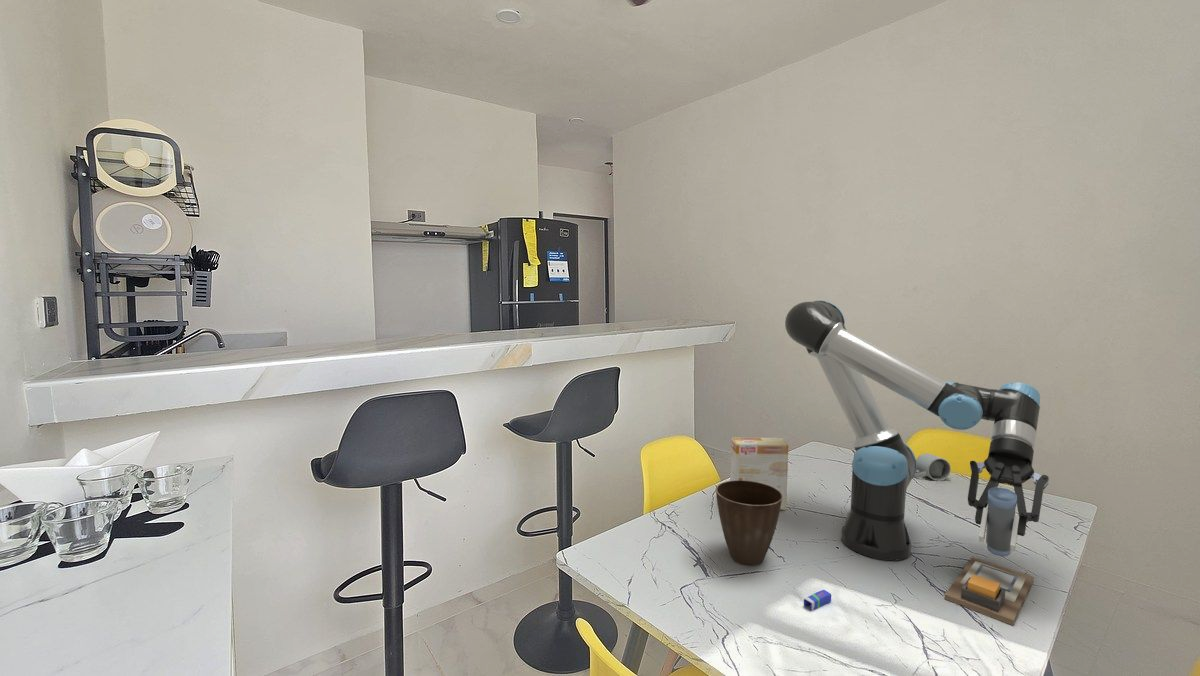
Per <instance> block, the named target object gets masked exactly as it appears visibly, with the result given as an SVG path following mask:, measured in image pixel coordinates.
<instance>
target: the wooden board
mask: <svg viewBox="0 0 1200 676" xmlns="http://www.w3.org/2000/svg"><path fill="white" fill-rule="evenodd" d="M973 574H975V575H978V576H981V577H983V578H986V579H989V580H992V581H995V582H998V583H1000V590H999V594H998V596H997V598H996V600H995V599H992V598H989V597H987V596H984V595H981V594H978V593H976V592H973V591H970V590H968V589H967V587H968V581H969V580H970V578H971V577H972V575H973ZM1034 579H1035V577H1034V576H1033V575H1029V574H1027V573H1023V572H1021V571H1018V570H1015V569H1011V568H1010V567H1009V568H1008V567H1005V566H1002V565H999V564H996V563H992V562H990V561H987V560H984V559H981V558H977V557H974V556H971V558H970V559H969V560H968V562H967V564H966V565H965V566H964V567H963V568H962V570H961V571H960V573H959V574H958V576H957V577H956V579H955V580H954V581H953V583H951V585H950V587H949V588H948V589H947V591H946V592H945V594H944V599H945V600H946V601H949V602H952V603H954V604H955V605H959V606H961V605H962V607H965V608H967V609H970V610H972V611H975V612H978V614H979V613H980V614H982V615H985V616H987V617H990V618H993V619H995V620H997V621H1000V622H1003V623H1005V624H1009V625H1010V626H1014V624H1015V623H1016V620H1017V618H1018V616H1019V614H1020V612H1021V610H1020V609H1022V607H1023V604H1024V602H1025V601H1026V598H1027V596H1028V594H1029V591H1030V589H1031V587H1032V585H1033V583H1034Z"/></svg>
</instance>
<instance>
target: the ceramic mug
mask: <svg viewBox="0 0 1200 676" xmlns="http://www.w3.org/2000/svg"><path fill="white" fill-rule="evenodd" d="M916 464H917V468H916V472H917V471H919V472H917V473H915V475H914V477H913V478H916V479H917V478H923V477H924V478H925V477H928V478H930V479H931V480H933V481H936V482H940V481H941V482H942V481H944V480H946V479H947V478H949V476H950V474H951V464H950V463H949V461H948V460H947V459H945V458H943V457H940V456H937V455H934V454H931V453H922V454H920V455H918V456H917V457H916Z"/></svg>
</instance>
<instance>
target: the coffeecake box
mask: <svg viewBox="0 0 1200 676" xmlns="http://www.w3.org/2000/svg"><path fill="white" fill-rule="evenodd" d="M730 440H731V441H730V444H731V445H730V472H729V473H730V475H729V477H730V480H729V481H736V480H742V481H753V482H758V483H763V484H766V485H769V486H771V487H773V488H775V489H777V490H778V491H779V492H780V493H781V494H782V502H781V507H780V511H782V510H783V511H786V510H787V504H788V503H787V500H788V499H787V498H788V497H787V496H788V495H787V494H788V493H787V492H788V472H789V471H788V469H789V466H788V465H789V464H788V463H789V443H787V441H785V440H784V439H783V438H782V437H735V436H734V437H731V439H730Z"/></svg>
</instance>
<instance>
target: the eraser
mask: <svg viewBox="0 0 1200 676" xmlns="http://www.w3.org/2000/svg"><path fill="white" fill-rule="evenodd" d="M831 602H832V593H830V592H829V591H827V590H825V589H822V590H819V591H817V592H815V593H813V594H811V595H808V596H807V597H804V598H803V606H804V607H806V606H808V604H809V605H810V611H814V610H817V609H819V608H821V607H822V606H824V605H826V604H829V603H831ZM810 603H811V604H810Z"/></svg>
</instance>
